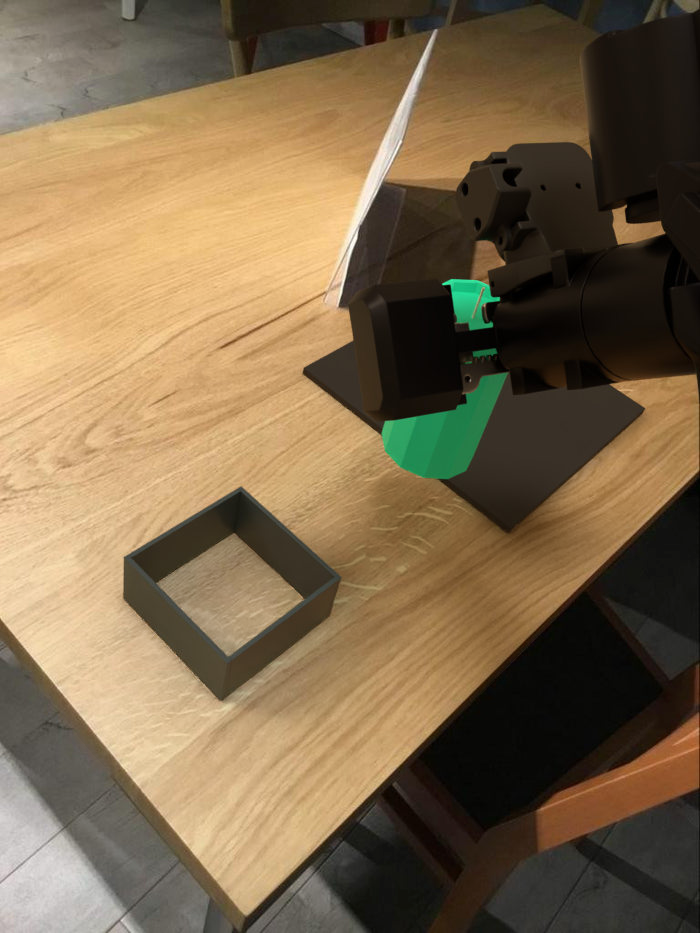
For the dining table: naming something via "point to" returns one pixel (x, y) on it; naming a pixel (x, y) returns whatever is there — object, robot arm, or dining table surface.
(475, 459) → the mat
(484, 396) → the candle
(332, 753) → the dining table surface
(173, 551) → the dark grey square tray
